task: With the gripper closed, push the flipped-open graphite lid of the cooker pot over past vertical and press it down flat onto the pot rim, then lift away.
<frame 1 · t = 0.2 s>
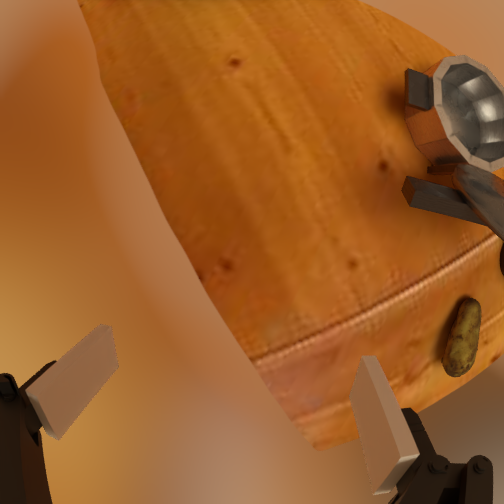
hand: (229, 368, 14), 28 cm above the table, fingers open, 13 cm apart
lid: (494, 209, 21), point 16 cm above the table, hinge at 120.0°
pot: (447, 121, 33), on the table
potato: (454, 328, 41), on the table
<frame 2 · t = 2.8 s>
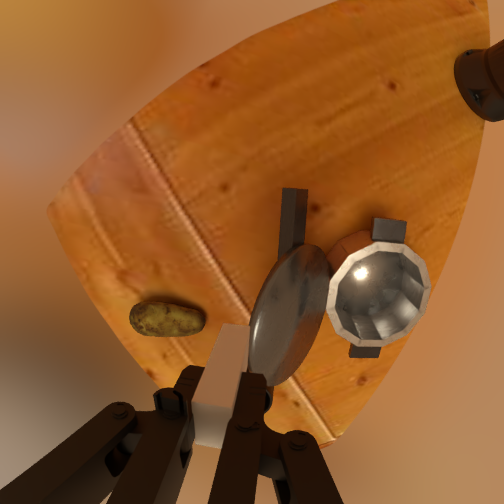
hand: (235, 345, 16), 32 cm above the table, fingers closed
lid: (292, 291, 32), point 16 cm above the table, hinge at 120.0°
pot: (366, 277, 47), on the table
potato: (174, 311, 53), on the table
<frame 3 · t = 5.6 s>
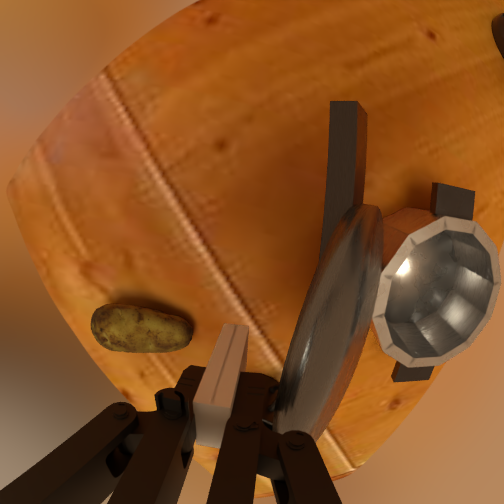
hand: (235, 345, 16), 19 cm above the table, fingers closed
lid: (342, 291, 17), point 16 cm above the table, hinge at 117.7°, touching gripper
pot: (411, 272, 33), on the table
potato: (152, 318, 38), on the table
mug: (260, 390, 39), on the table
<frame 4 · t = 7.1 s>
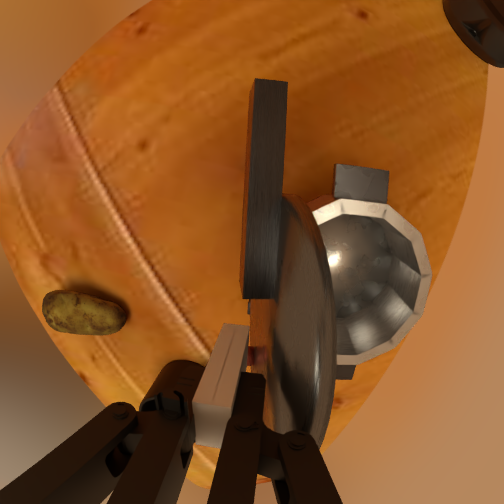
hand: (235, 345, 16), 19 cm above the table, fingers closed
lid: (263, 291, 16), point 18 cm above the table, hinge at 77.5°, touching gripper
pot: (336, 263, 34), on the table
potato: (96, 304, 40), on the table
mug: (193, 378, 40), on the table
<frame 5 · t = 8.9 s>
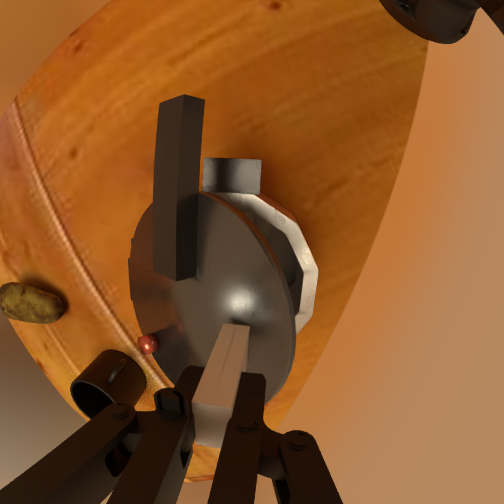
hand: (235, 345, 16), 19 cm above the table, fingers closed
lid: (179, 273, 19), point 16 cm above the table, hinge at 33.8°, touching gripper
pot: (238, 259, 34), on the table
potato: (44, 296, 40), on the table
mug: (124, 368, 41), on the table
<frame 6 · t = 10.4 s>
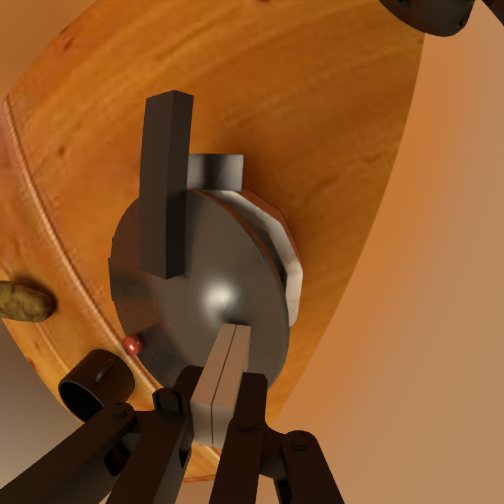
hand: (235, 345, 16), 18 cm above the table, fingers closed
lid: (166, 271, 18), point 15 cm above the table, hinge at 26.4°, touching gripper
pot: (224, 258, 33), on the table
potato: (34, 295, 38), on the table
mug: (112, 368, 40), on the table
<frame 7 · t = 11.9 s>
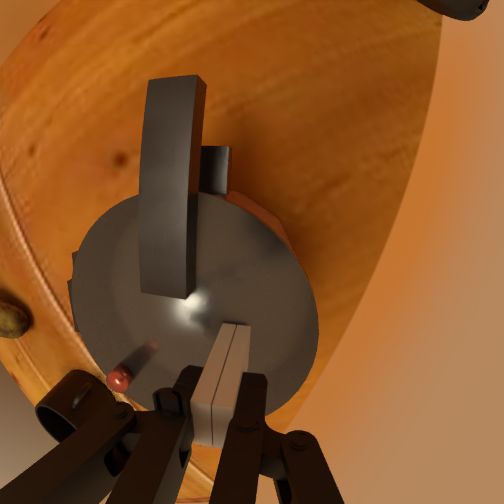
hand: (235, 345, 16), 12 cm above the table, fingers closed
lid: (169, 289, 15), point 12 cm above the table, hinge at 2.2°, touching gripper
pot: (211, 275, 27), on the table
potato: (11, 308, 32), on the table
mug: (93, 389, 34), on the table
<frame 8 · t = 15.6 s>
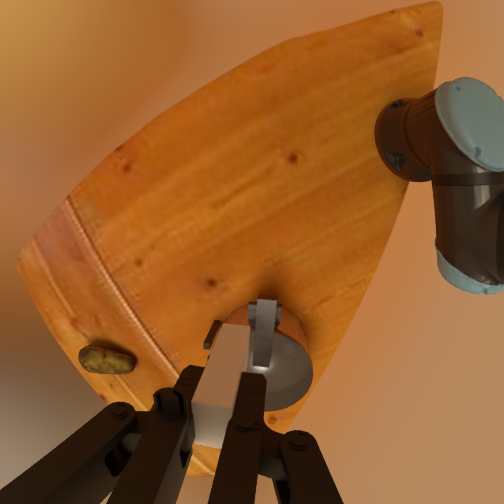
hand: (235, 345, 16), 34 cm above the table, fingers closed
lid: (260, 362, 42), point 12 cm above the table, hinge at 2.2°
pot: (262, 340, 54), on the table
potato: (114, 353, 59), on the table
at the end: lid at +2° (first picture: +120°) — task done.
